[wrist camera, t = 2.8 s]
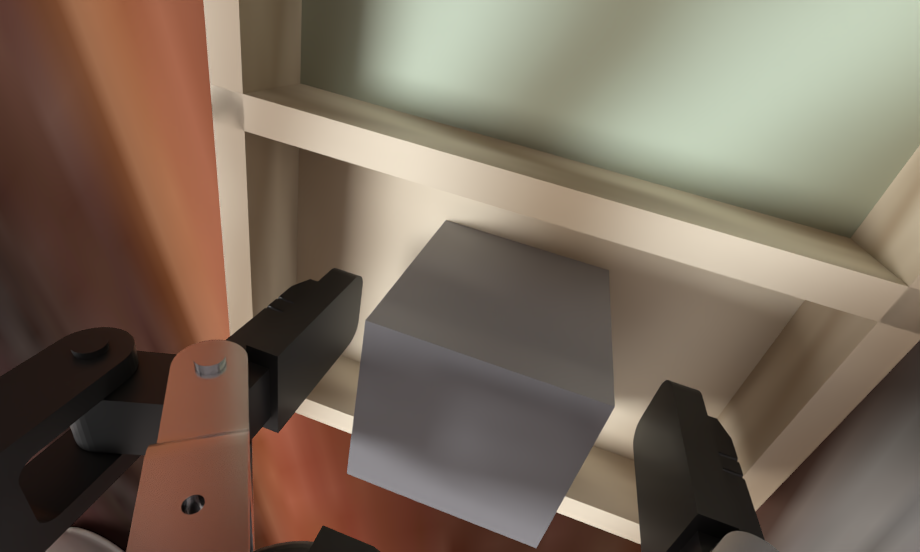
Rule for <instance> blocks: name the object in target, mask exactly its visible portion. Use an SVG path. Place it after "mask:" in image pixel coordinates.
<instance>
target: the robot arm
mask: <svg viewBox="0 0 920 552" xmlns="http://www.w3.org/2000/svg"><path fill="white" fill-rule="evenodd" d="M362 287H363V279H362V277H361V276H359V275H356V274H353V273H350V272H347V271H344V270H341V269H338V268H333V269H331V270H330V271H329V272H328V273H327V274H326V275H324V276H323V277H322V278H321V279H320V280H319V281H315V280H312V279H309V280H306V281H303V282H301V283H298V284H295V285H293V286H291V287H290V288H289V289H287V290H286V291H285V292H284V293H282V294H281V295H280V296H279V298H278V299H275V300H274V301H273V302H271V303H270V304H269V305H268V307H267V308H264V309H263V310H262V311H261V312H259V313H258V314H257V315H256V316H254V317H253V318H252V319H251V320H250V321H248V322H247V323H246V324H245V325H243V326H242V327H241V328H240V329H239V330H237V331H236V332H235V333H234V334H232V335H231V336H230V337H229V338H228V339H226V340H208V341H202V342H199V343H196V344H193V345H191V346H188V347H187V348H185V349H183V350H182V351H181V352H179V353H178V354H165V353H155V352H144V351H137V350H136V346H135V341H134V339H133V337H132V336H131V335H130V334H129V333H128V332H126V331H124V330H121V329H117V328H110V327H100V328H91V329H86V330H82V331H79V332H76V333H73V334H70V335H68V336H66V337H64V338H62V339H60V340H59V341H57V342H55V343H54V344H52V345H51V346H49V347H47V348H46V349H44V350H42V351H41V352H39V353H38V354H36V355H34V356H33V357H31V358H30V359H28V360H26V361H25V362H23V363H21V364H20V365H18V366H17V367H15V368H13V369H12V370H10V371H9V372H7V373H5V374H4V375H2V376H0V552H45V551H46V550H47V549H48V548H49V547H50V546H51V545H52V544H53V543H54V542H55V541H56V540H57V539H58V538H59V537H60V536H61V535H62V534H63V533H64V532H65V531H66V530H67V529H68V528H69V527H70V526H71V525H72V524H73V523H74V522H75V521H76V520H77V519H78V518H79V517H80V516H81V515H82V514H83V513H84V512H85V511H86V510H87V509H88V508H89V507H90V506H91V505H92V504H93V503H94V502H95V501H96V500H97V499H98V498H99V497H100V496H101V495H102V494H103V493H104V492H105V491H106V490H107V489H108V488H109V487H110V486H111V485H112V484H113V483H114V482H115V481H116V480H117V479H118V478H119V477H120V476H121V475H122V474H123V473H124V472H125V471H126V470H127V469H128V468H129V467H130V466H131V465H132V464H133V463H134V462H135V461H136V460H137V459H138V458H139V457H140V456H141V455H145V458H144V462H143V468H142V473H141V478H140V483H139V488H138V493H137V498H136V504H135V509H134V514H133V519H132V524H131V529H130V535H129V540H128V545H127V550H126V552H380V551H379V550H377V549H376V548H375V547H373V546H371V545H369V544H366V543H364V542H361V541H359V540H357V539H354V538H352V537H349V536H347V535H345V534H342V533H340V532H337V531H335V530H333V529H330V528H328V527H325V526H322V528H321V530H320V532H319V533H318V535H317V537H316V539H315V541H314V542H310V541H292V542H285V543H278V544H274V545H270V546H267V547H263V548H260V549H258V550H255V540H254V505H253V449H252V438H253V437H254V436H255V435H256V434H257V433H258V431H259V430H260V429H261V428H262V427H264V428H267V429H269V430H272V431H274V432H277V433H279V431H280V430H281V429H282V428H283V426H284V425H285V424H286V423H287V421H288V420H289V419H290V418H291V416H292V415H293V414H294V413H295V411H296V410H297V409H298V408H299V406H300V405H301V404H302V403H303V401H304V400H305V399H306V398H307V397H308V395H309V394H310V393H311V392H312V390H313V389H314V388H315V387H316V385H317V384H318V383H319V382H320V380H321V379H322V378H323V377H324V375H325V374H326V373H327V372H328V370H329V369H330V368H331V367H332V365H333V364H334V363H335V362H336V360H337V359H338V358H339V357H340V355H341V354H342V353H343V352H344V351H345V349H346V348H347V347H348V346H349V344H350V343H351V341H352V339H353V338H354V335H355V333H356V330H357V327H358V322H359V314H360V305H361V296H362ZM69 426H70V427H71V429H70V430H69V431H67V432H66V433H65V434H64V435H62V436H61V437H60V438H59V439H57V440H56V441H55V442H54V443H53V444H51V445H50V446H49V447H48V448H46V449H45V450H44V451H43V452H41V453H40V454H39V455H38V456H37V457H35V458H34V459H33V460H32V461H30V462H29V463H28V464H27V465H25V464H26V463H27V462H28V461H29V460H30V458H31V457H32V456H34V455H35V454H36V453H37V452H38V451H40V450H41V449H42V448H43V447H45V446H46V445H47V444H48V443H49V442H51V441H52V440H53V439H54V438H56V437H57V436H58V435H59V434H61V433H62V432H63V431H64V430H66V429H67V428H68V427H69ZM633 452H634V465H635V477H636V490H637V502H638V514H639V527H640V539H641V552H779V551H778V550H777V549H775V548H774V547H773V546H772V545H770V544H769V543H768V542H766V541H765V540H764V537H763V534H762V531H761V528H760V524H759V521H758V518H757V515H756V512H755V509H754V506H753V503H752V500H751V497H750V494H749V491H748V487H747V484H746V481H745V479H743V472H742V469H741V466H740V463H739V462H737V460H738V457H737V454H736V451H735V447H734V444H733V441H732V438H731V437H730V436H729V434H728V433H727V432H726V430H725V429H724V427H723V426H722V425H721V423H720V422H719V421H718V419H717V418H714V417H711V416H708V414H707V411H706V407H705V403H704V400H703V396H702V394H701V392H700V391H699V390H696V389H693V388H690V387H687V386H684V385H681V384H678V383H675V382H673V381H670V380H666V381H664V382H663V383H662V384H661V386H660V387H659V389H658V390H657V392H656V394H655V395H654V397H653V399H652V400H651V402H650V404H649V405H648V407H647V409H646V410H645V412H644V414H643V415H642V417H641V419H640V420H639V422H638V424H637V427H636V430H635V434H634V439H633Z"/></svg>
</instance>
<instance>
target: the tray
mask: <svg viewBox="0 0 920 552" xmlns="http://www.w3.org/2000/svg"><path fill="white" fill-rule="evenodd" d="M203 1H204V13H205V26H206V39H207V51H208V64H209V76H210V89H211V101H212V114H213V127H214V139H215V152H216V164H217V177H218V189H219V202H220V215H221V227H222V240H223V252H224V265H225V277H226V290H227V303H228V315H229V328H230V336H231V335H232V334H234V333H235V332H236V331H237V330H239V329H240V328H241V327H242V326H243V325H245V324H246V323H247V322H248V321H250V320H251V319H252V318H253V317H254V316H256V315H257V314H258V313H259V312H261V311H262V310H263V309H264V308H267V307H268V305H269V304H270V303H271V302H273V301H274V300H275V299H278V298H279V296H280V295H281V294H282V293H284V292H285V291H286V290H287V289H289V288H290V287H291V286H293V285H295V284H298V283H301V282H303V281H306V280H309V279H312V280H315V281H319V280H320V279H321V278H322V277H323V276H324V275H326V274H327V273H328V272H329V271H330V270H331V269H333V268H338V269H341V270H344V271H347V272H350V273H353V274H356V275H359V276H361V277H362V279H363V287H362V296H361V305H360V314H359V322H358V327H357V330H356V333H355V335H354V338H353V339H352V341H351V343H350V344H349V346H348V347H347V348H346V349H345V351H344V352H343V353H342V354H341V355H340V357H339V358H338V359H337V360H336V362H335V363H334V364H333V365H332V367H331V368H330V369H329V370H328V372H327V373H326V374H325V375H324V377H323V378H322V379H321V380H320V382H319V383H318V384H317V385H316V387H315V388H314V389H313V390H312V392H311V393H310V394H309V395H308V397H307V398H306V399H305V400H304V401H303V403H302V404H301V405H300V406H299V408H298V409H297V410H296V411H295V412H296V413H298V414H301V415H304V416H306V417H309V418H311V419H314V420H317V421H319V422H322V423H325V424H327V425H330V426H332V427H335V428H338V429H340V430H343V431H345V432H348V433H351V434H352V427H353V419H354V411H355V402H356V394H357V386H358V377H359V369H360V361H361V352H362V344H363V336H364V327H365V320H366V319H367V318H368V316H369V315H370V314H371V313H372V311H373V310H374V309H375V308H376V306H377V305H378V304H379V303H380V301H381V300H382V299H383V298H384V296H385V295H386V294H387V293H388V291H389V290H390V289H391V288H392V286H393V285H394V284H395V283H396V281H397V280H398V279H399V278H400V277H401V275H402V274H403V273H404V272H405V270H406V269H407V268H408V267H409V265H410V264H411V263H412V262H413V260H414V259H415V258H416V257H417V255H418V254H419V253H420V252H421V250H422V249H423V248H424V247H425V245H426V244H427V243H428V242H429V240H430V239H431V238H432V237H433V235H434V234H435V233H436V232H437V230H438V229H439V228H440V227H441V225H442V224H443V223H444V222H445V220H448V221H451V222H455V223H458V224H461V225H464V226H468V227H471V228H474V229H477V230H480V231H484V232H487V233H490V234H493V235H497V236H500V237H503V238H506V239H510V240H513V241H516V242H519V243H522V244H526V245H529V246H532V247H535V248H539V249H542V250H545V251H548V252H552V253H555V254H558V255H561V256H565V257H568V258H571V259H574V260H577V261H581V262H584V263H587V264H590V265H594V266H597V267H600V268H603V269H607V270H609V281H610V305H611V328H612V351H613V375H614V398H615V407H614V409H613V411H612V413H611V415H610V416H609V418H608V420H607V422H606V424H605V425H604V427H603V429H602V431H601V433H600V434H599V436H598V438H597V440H596V442H595V443H594V445H593V447H592V449H591V451H590V452H589V454H588V456H587V458H586V460H585V461H584V463H583V465H582V467H581V469H580V470H579V472H578V474H577V476H576V477H575V479H574V481H573V483H572V485H571V486H570V488H569V490H568V492H567V494H566V495H565V497H564V499H563V501H562V503H561V504H560V506H559V508H558V510H557V512H558V513H560V514H563V515H566V516H568V517H571V518H573V519H576V520H579V521H581V522H584V523H586V524H589V525H592V526H594V527H597V528H600V529H602V530H605V531H607V532H610V533H613V534H615V535H618V536H621V537H623V538H626V539H628V540H631V541H634V542H636V543H639V544H641V539H640V527H639V514H638V502H637V490H636V477H635V465H634V452H633V439H634V434H635V430H636V427H637V424H638V422H639V420H640V419H641V417H642V415H643V414H644V412H645V410H646V409H647V407H648V405H649V404H650V402H651V400H652V399H653V397H654V395H655V394H656V392H657V390H658V389H659V387H660V386H661V384H662V383H663V382H664V381H666V380H670V381H673V382H675V383H678V384H681V385H684V386H687V387H690V388H693V389H696V390H699V391H700V392H701V394H702V396H703V400H704V403H705V407H706V411H707V414H708V416H711V417H714V418H717V419H718V421H719V422H720V423H721V425H722V426H723V427H724V429H725V430H726V432H727V433H728V434H729V436H730V437H731V438H732V441H733V444H734V447H735V451H736V454H737V457H738V460H737V462H739V463H740V466H741V469H742V472H743V479H745V481H746V484H747V487H748V491H749V494H750V497H751V500H752V503H753V506H754V509H755V511H756V510H757V509H758V508H759V507H760V506H761V505H762V504H763V503H764V502H765V501H766V500H767V499H768V498H769V497H770V496H771V494H772V493H773V492H774V491H775V490H776V489H777V488H778V487H779V486H780V485H781V484H782V483H783V482H784V481H785V480H786V479H787V478H788V477H789V476H790V475H791V474H792V473H793V472H794V471H795V470H796V468H797V467H798V466H799V465H800V464H801V463H802V462H803V461H804V460H805V459H806V458H807V457H808V456H809V455H810V454H811V453H812V452H813V451H814V450H815V449H816V448H817V447H818V446H819V445H820V443H821V442H822V441H823V440H824V439H825V438H826V437H827V436H828V435H829V434H830V433H831V432H832V431H833V430H834V429H835V428H836V427H837V426H838V425H839V424H840V423H841V422H842V421H843V420H844V418H845V417H846V416H847V415H848V414H849V413H850V412H851V411H852V410H853V409H854V408H855V407H856V406H857V405H858V404H859V403H860V402H861V401H862V400H863V399H864V398H865V397H866V396H867V395H868V394H869V392H870V391H871V390H872V389H873V388H874V387H875V386H876V385H877V384H878V383H879V382H880V381H881V380H882V379H883V378H884V377H885V376H886V375H887V374H888V373H889V372H890V371H891V370H892V369H893V367H894V366H895V365H896V364H897V363H898V362H899V361H900V360H901V359H902V358H903V357H904V356H905V355H906V354H907V353H908V352H909V351H910V350H911V349H912V348H913V347H914V346H915V345H916V344H917V342H918V341H919V340H920V0H203Z"/></svg>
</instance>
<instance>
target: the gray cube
mask: <svg viewBox="0 0 920 552" xmlns="http://www.w3.org/2000/svg"><path fill="white" fill-rule="evenodd" d="M614 407H615V398H614V375H613V351H612V328H611V305H610V281H609V270H607V269H603V268H600V267H597V266H594V265H590V264H587V263H584V262H581V261H577V260H574V259H571V258H568V257H565V256H561V255H558V254H555V253H552V252H548V251H545V250H542V249H539V248H535V247H532V246H529V245H526V244H522V243H519V242H516V241H513V240H510V239H506V238H503V237H500V236H497V235H493V234H490V233H487V232H484V231H480V230H477V229H474V228H471V227H468V226H464V225H461V224H458V223H455V222H451V221H448V220H445V222H444V223H443V224H442V225H441V227H440V228H439V229H438V230H437V232H436V233H435V234H434V235H433V237H432V238H431V239H430V240H429V242H428V243H427V244H426V245H425V247H424V248H423V249H422V250H421V252H420V253H419V254H418V255H417V257H416V258H415V259H414V260H413V262H412V263H411V264H410V265H409V267H408V268H407V269H406V270H405V272H404V273H403V274H402V275H401V277H400V278H399V279H398V280H397V281H396V283H395V284H394V285H393V286H392V288H391V289H390V290H389V291H388V293H387V294H386V295H385V296H384V298H383V299H382V300H381V301H380V303H379V304H378V305H377V306H376V308H375V309H374V310H373V311H372V313H371V314H370V315H369V316H368V318H367V319H366V320H365V327H364V336H363V344H362V352H361V361H360V369H359V377H358V386H357V394H356V402H355V411H354V419H353V427H352V435H351V444H350V452H349V460H348V469H347V474H349V475H352V476H354V477H357V478H359V479H362V480H365V481H367V482H370V483H372V484H375V485H377V486H380V487H382V488H385V489H387V490H390V491H392V492H395V493H397V494H400V495H403V496H405V497H408V498H410V499H413V500H415V501H418V502H420V503H423V504H425V505H428V506H430V507H433V508H436V509H438V510H441V511H443V512H446V513H448V514H451V515H453V516H456V517H458V518H461V519H463V520H466V521H469V522H471V523H474V524H476V525H479V526H481V527H484V528H486V529H489V530H491V531H494V532H496V533H499V534H502V535H504V536H507V537H509V538H512V539H514V540H517V541H519V542H522V543H524V544H527V545H529V546H532V547H535V548H537V546H538V544H539V542H540V540H541V539H542V537H543V535H544V533H545V531H546V530H547V528H548V526H549V524H550V522H551V521H552V519H553V517H554V515H555V513H556V512H557V510H558V508H559V506H560V504H561V503H562V501H563V499H564V497H565V495H566V494H567V492H568V490H569V488H570V486H571V485H572V483H573V481H574V479H575V477H576V476H577V474H578V472H579V470H580V469H581V467H582V465H583V463H584V461H585V460H586V458H587V456H588V454H589V452H590V451H591V449H592V447H593V445H594V443H595V442H596V440H597V438H598V436H599V434H600V433H601V431H602V429H603V427H604V425H605V424H606V422H607V420H608V418H609V416H610V415H611V413H612V411H613V409H614Z"/></svg>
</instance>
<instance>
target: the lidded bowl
mask: <svg viewBox="0 0 920 552" xmlns="http://www.w3.org/2000/svg"><path fill="white" fill-rule="evenodd" d="M45 552H124V551H123V550H122V549H121V548H119V547H118V546H116V545H115V544H113V543H112V542H110V541H109V540H107V539H105V538H104V537H102V536H100V535H98V534H96V533H94V532H91V531H89V530H86V529H83V528H78V527H69V528H68V529H67V530H66V531H65V532H64V533H63V534H62V535H61V536H60V537H59V538H58V539H57V540H56V541H55V542H54V543H53V544H52V545H51V546H50V547H49V548H48V549H47V550H46V551H45Z"/></svg>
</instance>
